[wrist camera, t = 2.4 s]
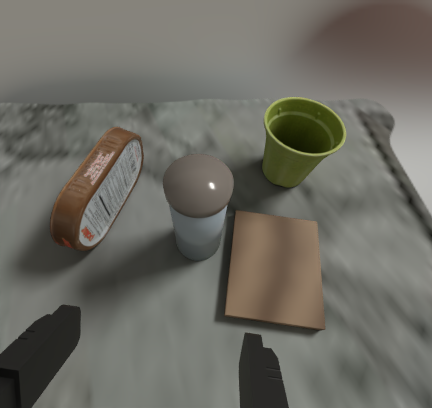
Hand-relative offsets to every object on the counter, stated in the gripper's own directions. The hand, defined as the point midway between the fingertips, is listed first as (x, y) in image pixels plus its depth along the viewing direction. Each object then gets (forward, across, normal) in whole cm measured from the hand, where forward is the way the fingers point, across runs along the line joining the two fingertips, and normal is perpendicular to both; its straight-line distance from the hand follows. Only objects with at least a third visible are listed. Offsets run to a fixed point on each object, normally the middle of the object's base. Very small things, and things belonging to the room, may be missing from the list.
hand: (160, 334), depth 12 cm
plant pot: (+27, -10, -6) cm, 30 cm away
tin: (+21, +11, +1) cm, 24 cm away
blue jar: (+18, 0, +3) cm, 19 cm away
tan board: (+17, -9, +4) cm, 20 cm away
